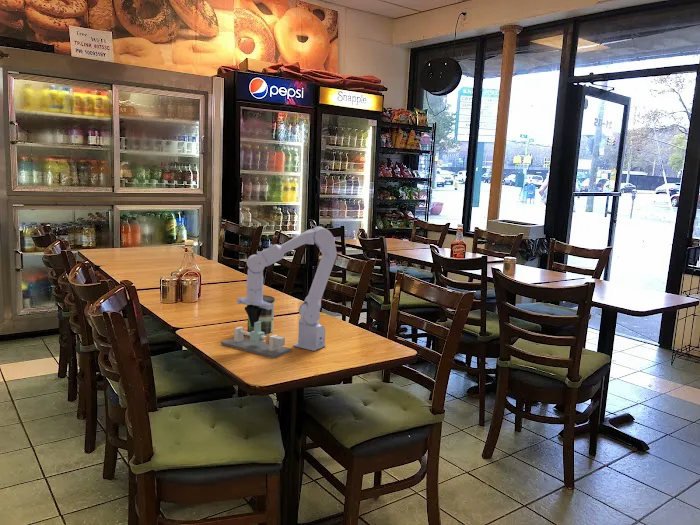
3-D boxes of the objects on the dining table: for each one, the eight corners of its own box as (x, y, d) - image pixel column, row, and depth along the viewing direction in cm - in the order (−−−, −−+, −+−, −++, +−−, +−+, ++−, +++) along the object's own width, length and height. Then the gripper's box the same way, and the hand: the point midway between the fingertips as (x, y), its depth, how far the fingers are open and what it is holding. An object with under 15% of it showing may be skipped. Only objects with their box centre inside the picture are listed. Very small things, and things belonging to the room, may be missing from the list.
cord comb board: (291, 351, 198) (291, 333, 197) (273, 358, 190) (274, 339, 189) (239, 338, 210) (240, 321, 209) (220, 344, 202) (221, 327, 201)
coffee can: (263, 338, 212) (264, 302, 210) (241, 333, 217) (242, 298, 215) (278, 332, 221) (280, 297, 219) (257, 327, 226) (258, 293, 224)
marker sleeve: (264, 340, 200) (264, 322, 199) (258, 342, 197) (259, 324, 196) (255, 338, 202) (256, 320, 201) (250, 339, 199) (250, 322, 198)
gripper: (231, 287, 197) (230, 324, 200) (263, 293, 190) (262, 332, 192) (244, 284, 204) (244, 320, 206) (276, 290, 196) (275, 327, 198)
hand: (253, 325), depth 199 cm, fingers closed
